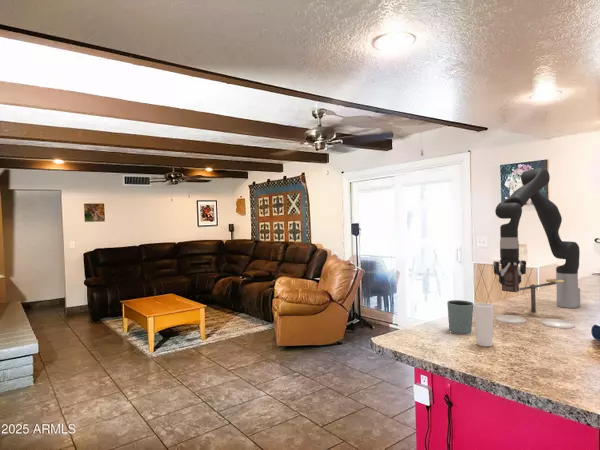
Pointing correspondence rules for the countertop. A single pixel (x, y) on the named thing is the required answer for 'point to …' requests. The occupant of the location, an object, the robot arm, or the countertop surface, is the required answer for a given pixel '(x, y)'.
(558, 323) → the dish high side
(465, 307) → the green cup
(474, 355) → the countertop surface
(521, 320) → the dish low side
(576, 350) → the countertop surface
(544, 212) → the robot arm
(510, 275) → the box
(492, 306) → the drinking glass
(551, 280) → the balance
